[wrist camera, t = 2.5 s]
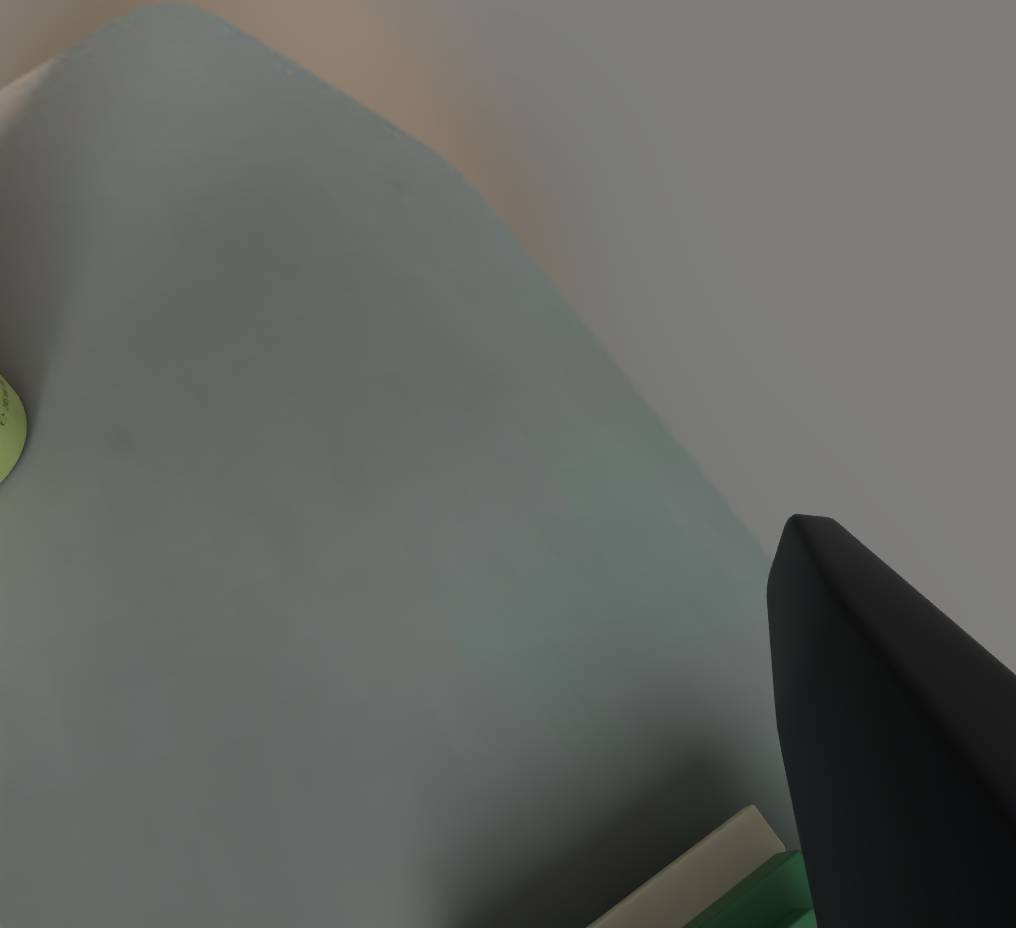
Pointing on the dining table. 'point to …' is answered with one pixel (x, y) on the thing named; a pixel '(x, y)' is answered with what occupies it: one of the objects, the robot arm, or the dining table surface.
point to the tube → (10, 428)
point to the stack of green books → (723, 884)
